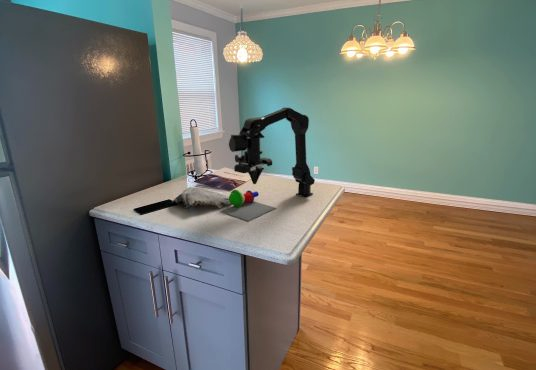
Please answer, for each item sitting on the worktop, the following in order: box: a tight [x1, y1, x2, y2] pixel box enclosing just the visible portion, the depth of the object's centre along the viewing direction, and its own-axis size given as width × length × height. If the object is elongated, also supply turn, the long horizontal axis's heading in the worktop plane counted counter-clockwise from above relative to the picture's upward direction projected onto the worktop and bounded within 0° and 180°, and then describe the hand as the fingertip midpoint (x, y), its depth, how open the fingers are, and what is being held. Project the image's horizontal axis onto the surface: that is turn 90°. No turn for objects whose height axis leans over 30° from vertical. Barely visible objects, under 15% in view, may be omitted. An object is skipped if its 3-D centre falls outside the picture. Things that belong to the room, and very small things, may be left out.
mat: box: [219, 201, 277, 223], centre depth 133 cm, size 18×17×1 cm
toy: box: [228, 189, 259, 207], centre depth 138 cm, size 8×8×15 cm
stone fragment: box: [170, 186, 233, 209], centre depth 143 cm, size 25×29×6 cm
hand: (254, 184), depth 133 cm, fingers closed
